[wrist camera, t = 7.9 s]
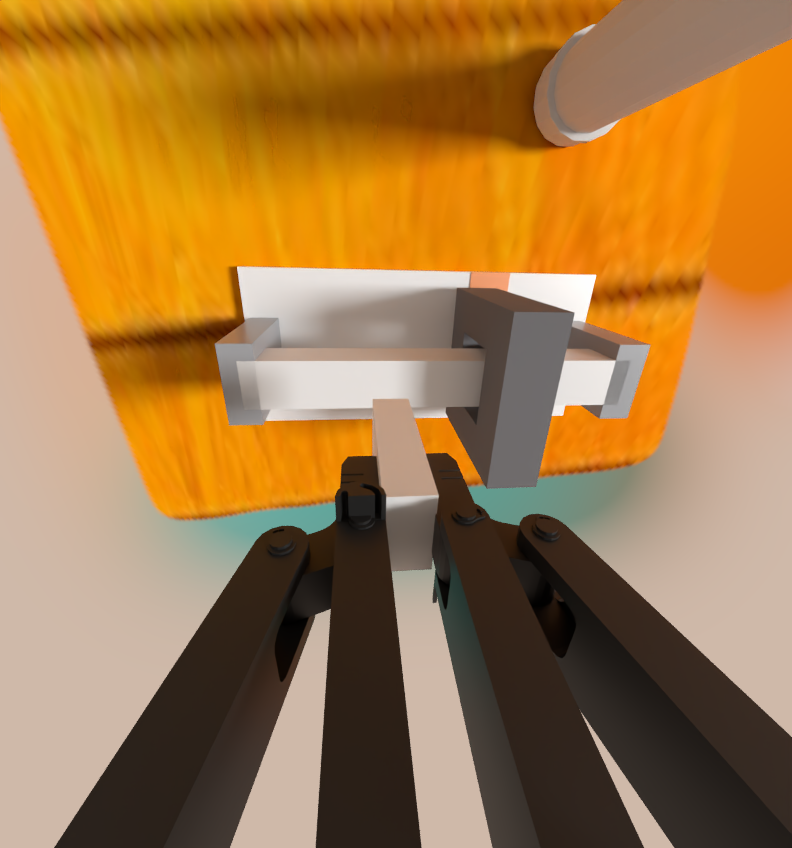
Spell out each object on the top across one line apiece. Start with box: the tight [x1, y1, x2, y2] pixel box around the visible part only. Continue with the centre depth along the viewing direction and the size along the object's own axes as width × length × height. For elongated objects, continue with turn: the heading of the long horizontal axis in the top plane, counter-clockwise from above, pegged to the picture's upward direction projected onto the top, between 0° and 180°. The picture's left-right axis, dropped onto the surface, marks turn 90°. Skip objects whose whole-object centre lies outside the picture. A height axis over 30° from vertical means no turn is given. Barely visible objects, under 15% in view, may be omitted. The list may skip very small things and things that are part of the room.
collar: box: [446, 288, 575, 489], centre depth 25 cm, size 10×3×11 cm, turn 178°
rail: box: [215, 266, 650, 425], centre depth 27 cm, size 12×27×9 cm, turn 88°
